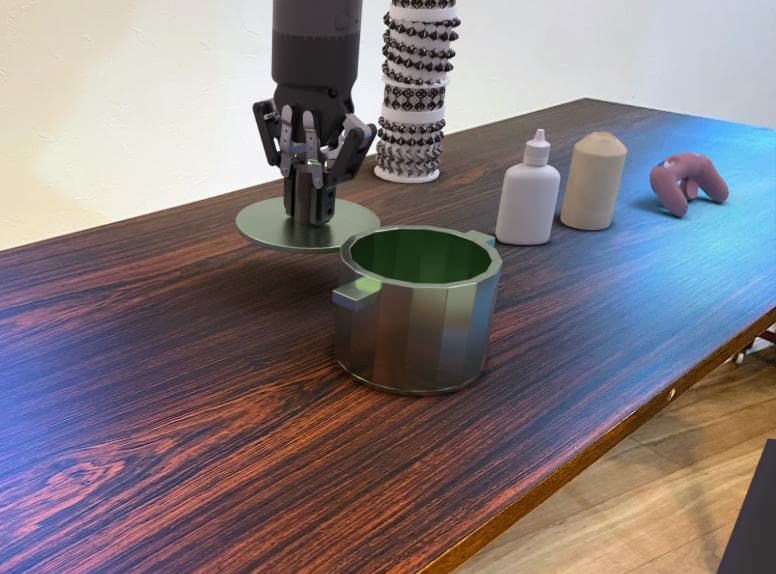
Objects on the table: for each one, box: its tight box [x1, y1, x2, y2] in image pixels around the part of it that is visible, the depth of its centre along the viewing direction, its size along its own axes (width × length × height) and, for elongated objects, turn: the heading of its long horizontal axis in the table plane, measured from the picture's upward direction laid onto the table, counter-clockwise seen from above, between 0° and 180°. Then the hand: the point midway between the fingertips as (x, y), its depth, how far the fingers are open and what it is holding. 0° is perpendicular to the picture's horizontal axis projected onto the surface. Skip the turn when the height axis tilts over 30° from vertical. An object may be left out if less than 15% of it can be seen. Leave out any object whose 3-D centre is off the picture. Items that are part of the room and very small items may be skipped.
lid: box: [235, 163, 381, 255], centre depth 85 cm, size 14×14×6 cm
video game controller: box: [649, 151, 730, 218], centre depth 108 cm, size 10×5×7 cm, turn 124°
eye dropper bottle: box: [494, 128, 561, 246], centre depth 96 cm, size 4×6×12 cm
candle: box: [560, 131, 628, 231], centre depth 101 cm, size 6×6×10 cm
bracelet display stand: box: [373, 0, 462, 184], centre depth 112 cm, size 9×9×25 cm
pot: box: [331, 224, 503, 397], centre depth 75 cm, size 13×18×10 cm
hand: (307, 217), depth 86 cm, fingers closed on lid, 2 cm apart
